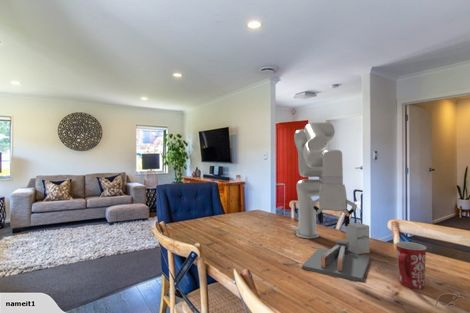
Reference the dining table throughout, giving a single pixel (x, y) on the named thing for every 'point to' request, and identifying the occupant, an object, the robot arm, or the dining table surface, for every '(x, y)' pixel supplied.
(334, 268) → the mat
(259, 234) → the dining table surface
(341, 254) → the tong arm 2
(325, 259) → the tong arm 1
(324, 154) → the robot arm
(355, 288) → the dining table surface
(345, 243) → the block
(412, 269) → the mug
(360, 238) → the supplement box
